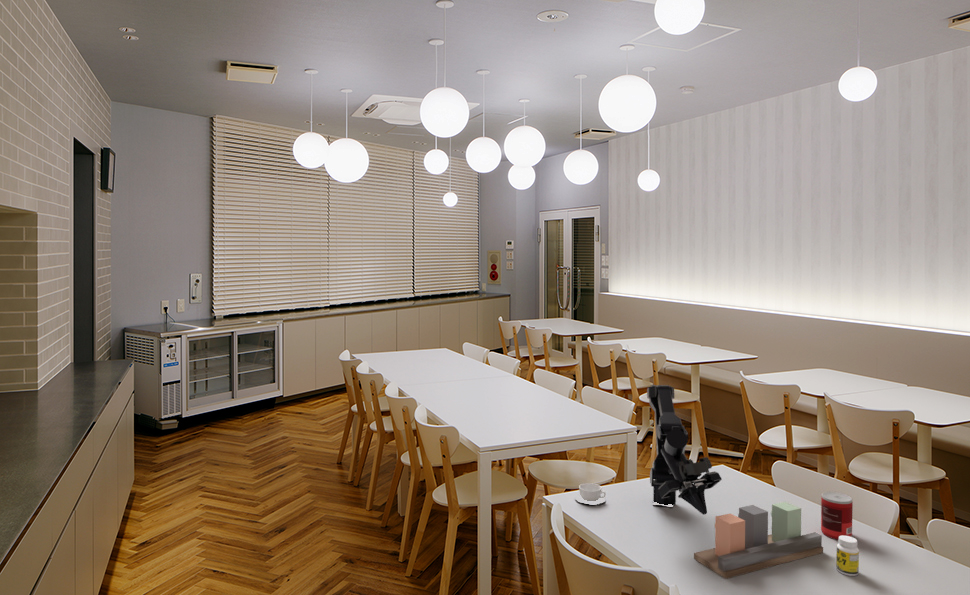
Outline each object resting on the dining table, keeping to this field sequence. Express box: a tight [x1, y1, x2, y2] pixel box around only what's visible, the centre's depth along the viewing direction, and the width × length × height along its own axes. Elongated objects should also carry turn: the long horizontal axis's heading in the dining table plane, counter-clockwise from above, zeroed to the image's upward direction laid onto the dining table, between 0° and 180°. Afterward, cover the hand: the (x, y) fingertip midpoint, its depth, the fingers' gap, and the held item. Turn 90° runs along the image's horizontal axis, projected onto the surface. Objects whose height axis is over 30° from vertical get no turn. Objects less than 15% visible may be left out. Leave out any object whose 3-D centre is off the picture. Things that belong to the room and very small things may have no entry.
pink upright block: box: [714, 513, 745, 556], centre depth 151 cm, size 6×5×10 cm
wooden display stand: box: [693, 532, 824, 580], centre depth 154 cm, size 11×34×4 cm, turn 112°
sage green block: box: [770, 501, 802, 542], centre depth 158 cm, size 6×5×10 cm
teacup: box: [578, 482, 606, 501], centre depth 193 cm, size 10×10×5 cm
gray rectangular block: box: [737, 504, 769, 549], centre depth 156 cm, size 6×5×10 cm
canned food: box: [820, 491, 854, 540], centre depth 166 cm, size 8×8×11 cm
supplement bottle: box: [835, 535, 860, 577], centre depth 145 cm, size 5×5×8 cm
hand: (705, 513), depth 159 cm, fingers closed
